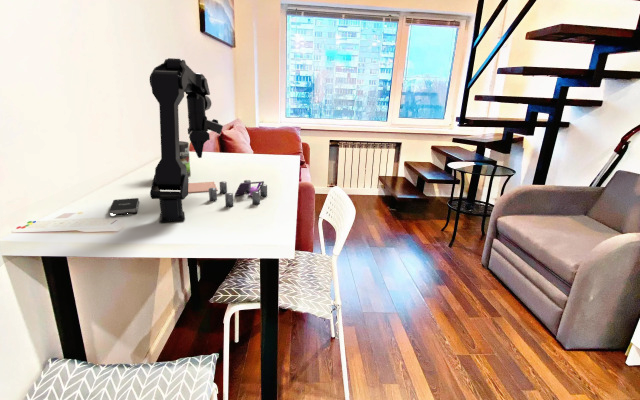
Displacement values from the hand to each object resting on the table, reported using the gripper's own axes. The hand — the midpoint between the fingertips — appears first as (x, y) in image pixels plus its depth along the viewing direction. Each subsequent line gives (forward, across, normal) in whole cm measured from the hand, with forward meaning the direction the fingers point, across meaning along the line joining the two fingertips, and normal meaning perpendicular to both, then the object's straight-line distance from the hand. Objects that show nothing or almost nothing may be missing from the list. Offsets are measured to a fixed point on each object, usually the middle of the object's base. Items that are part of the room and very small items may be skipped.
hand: (199, 157), depth 125 cm
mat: (+12, 0, 0) cm, 12 cm away
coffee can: (+12, +19, +8) cm, 24 cm away
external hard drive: (+12, -18, +23) cm, 32 cm away
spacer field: (+12, -16, -11) cm, 23 cm away
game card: (+10, -16, -11) cm, 22 cm away
